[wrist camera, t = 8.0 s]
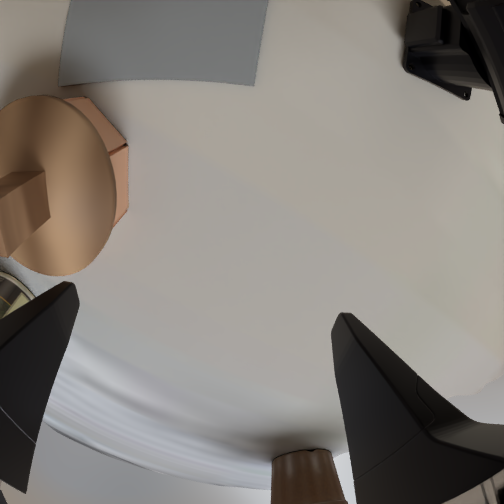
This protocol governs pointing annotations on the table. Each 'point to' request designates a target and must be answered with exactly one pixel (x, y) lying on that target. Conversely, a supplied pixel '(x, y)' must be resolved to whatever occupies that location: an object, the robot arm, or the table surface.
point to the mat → (162, 40)
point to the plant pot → (306, 479)
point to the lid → (53, 186)
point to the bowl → (109, 150)
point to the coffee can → (12, 294)
